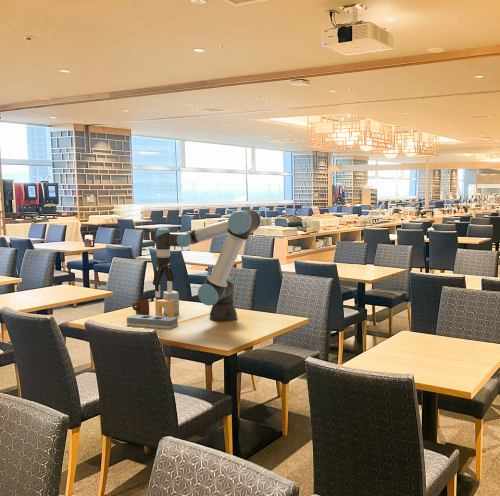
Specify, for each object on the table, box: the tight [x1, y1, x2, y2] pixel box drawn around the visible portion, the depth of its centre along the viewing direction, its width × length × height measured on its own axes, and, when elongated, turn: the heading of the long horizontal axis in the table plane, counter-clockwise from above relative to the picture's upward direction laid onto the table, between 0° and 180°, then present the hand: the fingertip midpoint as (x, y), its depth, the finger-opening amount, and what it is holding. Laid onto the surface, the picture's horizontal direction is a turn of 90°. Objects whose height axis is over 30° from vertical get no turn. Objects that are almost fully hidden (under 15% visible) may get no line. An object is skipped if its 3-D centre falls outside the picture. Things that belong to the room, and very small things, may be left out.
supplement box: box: [162, 290, 180, 316], centre depth 330 cm, size 7×7×13 cm
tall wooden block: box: [154, 299, 175, 317], centre depth 314 cm, size 10×3×10 cm, turn 70°
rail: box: [126, 314, 179, 329], centre depth 302 cm, size 26×8×4 cm, turn 70°
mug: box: [131, 298, 150, 316], centre depth 322 cm, size 12×8×9 cm, turn 151°
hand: (163, 294), depth 314 cm, fingers open, 13 cm apart
